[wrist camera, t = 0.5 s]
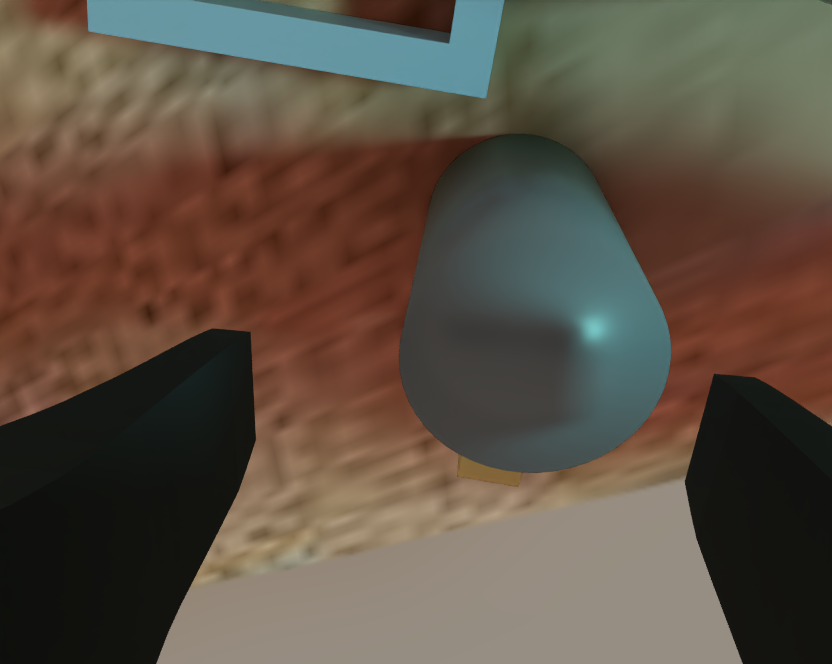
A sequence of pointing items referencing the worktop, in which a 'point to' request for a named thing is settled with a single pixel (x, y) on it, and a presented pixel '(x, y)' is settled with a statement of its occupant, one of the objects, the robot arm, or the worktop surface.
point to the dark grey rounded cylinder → (529, 316)
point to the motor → (827, 1)
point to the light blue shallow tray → (318, 38)
